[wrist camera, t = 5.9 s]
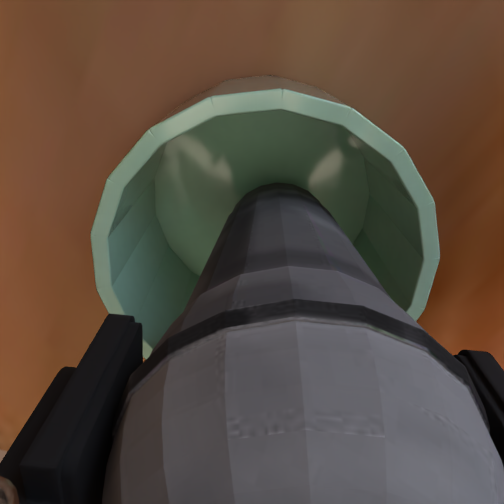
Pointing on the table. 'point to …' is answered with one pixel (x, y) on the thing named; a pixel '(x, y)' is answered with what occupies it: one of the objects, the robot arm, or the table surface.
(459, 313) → the table surface
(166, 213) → the bucket
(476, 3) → the table surface
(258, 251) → the beverage cup
